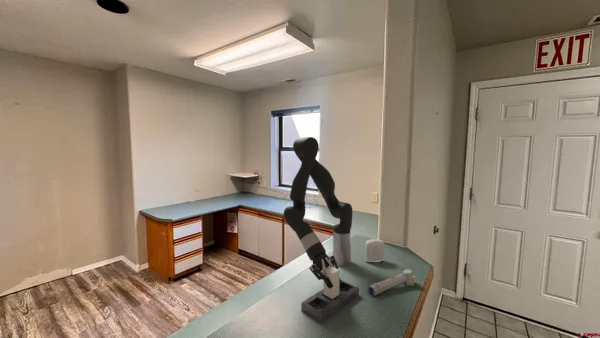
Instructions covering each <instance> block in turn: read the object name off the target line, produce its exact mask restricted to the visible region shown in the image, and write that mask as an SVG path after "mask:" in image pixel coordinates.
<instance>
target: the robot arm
mask: <svg viewBox="0 0 600 338" xmlns="http://www.w3.org/2000/svg"><path fill="white" fill-rule="evenodd" d="M292 148H293V152H294V154H295V155H296V157H297V158H298V160H299V161H300V162H301V165H300V167H299V169H298V171H297V172H296V174H295V176H294V178H293V180H292V184H291V189H290V194H289V199H290V200H291V201H292V203H293V205H292V206H287V207H286V208H284V210H283V218H284V221H285V222H286V223H287V225H288V226H289V227H290V228H291V229H292V231H294V233H295V234H296V236H297V238H298V240H299V241H300V243H301V246H302V249H303V250H304V251H305V253H306V255H307V257H308V259H309V260H310V261H311V262H312V265H310V267H308V268H309V270H310V271H311V273H312V274H313V275H314V276H315V277H316V278H317V280H318V281H321V280H323V283H324V282H325V284H326V285H327V287H328V288H329V289H330V288H332V287H333V284H332V282H331V281H330V279H329V277H328V276H327V273H326V272H325V271H326V268H328V267H334V268H336V269H339V266H340V267H347V266H349V265H350V264H351V262H352V244H351V229H352V227H353V207H352V205H351V203H348V202H344V201H341V200H340V201H339V199H338V197H337V196H336V194H335V190H336V184H335V183H336V182H335V180H334V178H333V176H332V175H331V173H330V171H329V170H328V169H327V168H326V167H325V166H324V165H323V164H321V163H320V161H318V160H317V159H316V158H317V156H318V154H319V141H318V140H317V139H316V138H315V137H314V136H312V137H311V136H307V137H306V136H305V137H299V138H296V139H295V140H294V141H293V145H292ZM310 178H311V179H312V181H313V183H314V185H315V187H316V188H317V190H318V191H319V192H320V194H321V197H322V198H323V200H324V202H325V204H326V206H327V209H328V211H329V213H330V215H331V216H332V217H333V218H335V219H339V223H338V224H337V223H336V224H335V225H333V226H332V227H333V228H332V230H333V231H332V233H333V234H332V236H333V238H332V239H333V240H332V246H333V247H332V248H333V249H332V255H331V256H329V255H328V254H327V252H326V248H325V247H324V245H323V243H322V242H321V240H320V239H319V237H318V236H317V235H316V233H315V231H314V229H312V226H311V225H310V224H309V222H307V221H304V218H305V215H306V200H305V198H306V195H307V189H308V183H309V180H310ZM341 280H342V279H341V277H340V276H339V283H340V282H341Z"/></svg>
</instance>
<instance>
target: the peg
mask: <svg viewBox="0 0 600 338" xmlns="http://www.w3.org/2000/svg"><path fill="white" fill-rule="evenodd" d="M334 267H335V266H334ZM334 267H330V266H329V267H328V268H326V271H325V272H326V273H327V276H328V277H329V279H330V281H331V282H332V284H333V287H332V288H330V289H329V288H328V287H327V285H326V284H325V282H324V281H323V289H324V295H326V296H327V297H328V299H330V300H333V299H335V297H336V296H338V295H339V277H340V272H341V270H340V269H339V268H338V269H336V268H334Z"/></svg>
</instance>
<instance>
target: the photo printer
mask: <svg viewBox="0 0 600 338" xmlns="http://www.w3.org/2000/svg"><path fill="white" fill-rule="evenodd" d="M364 248H365V249H364V250H365V251H364V260H365V261H364V262H366V261H367V262H371V261H376V260H380V259H383V258H384V257H385V243H384V241H383V240H382V239H377V238H373V239H368V240H365V247H364ZM367 262H366V263H367Z"/></svg>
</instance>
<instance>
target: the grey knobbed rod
mask: <svg viewBox="0 0 600 338" xmlns="http://www.w3.org/2000/svg"><path fill="white" fill-rule="evenodd" d="M400 283H402V284H403V285H404V286H406V287H407V286H408V287H410V286H411V287H412V286H415V283H416V276H415V275H413V271H412V270H411V269H406V268H405V269H404V270H403V272H402V273H399V274H397V275H395V276H392V277H389V278H387V279H383V280H381V281H379V282H373V284H372V285H370V286H368V287H367V293H369V295H370V296H371V297H375V296H377V295H380V294H382V293H383V292H385V291H387V290H388V289H390V288H392V287H394V286H396V285H398V284H400Z"/></svg>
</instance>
